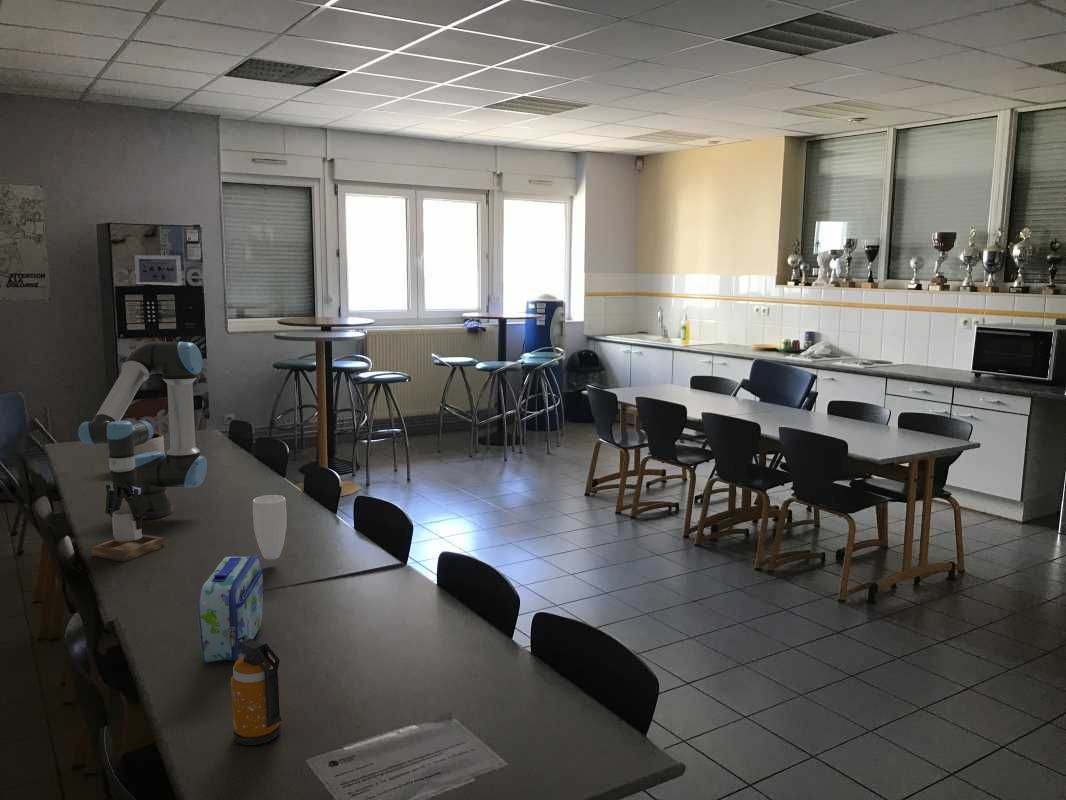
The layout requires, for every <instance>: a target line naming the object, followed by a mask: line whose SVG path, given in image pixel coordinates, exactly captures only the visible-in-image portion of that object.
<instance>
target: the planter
mask: <svg viewBox="0 0 1066 800" xmlns="http://www.w3.org/2000/svg"><path fill="white" fill-rule="evenodd" d="M164 442H165V441H164V434H163V433H160V432H154V433H153V436H152V438H151V439H150V440H149V441H147V442H145V443H144V444H140V445H137V446H135V447H134V454H135V456H136V455H139V454H143V453H147V452H153V451H163V452H164V454H165V443H164ZM164 456H166V454H165V455H164Z"/></svg>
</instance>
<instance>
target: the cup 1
mask: <svg viewBox="0 0 1066 800" xmlns="http://www.w3.org/2000/svg"><path fill="white" fill-rule="evenodd" d="M112 514H113V525H112V528H113V527H114V536H113V537H114V539H115V540H116V541H119V542H126V541H132V540H134V537H133V524H132V520H133V519H134V517H133V515H132V512H131V510H130V509H129V508H124V509H120V510H117V511H115V512H113V513H112Z"/></svg>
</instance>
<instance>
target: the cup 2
mask: <svg viewBox="0 0 1066 800" xmlns="http://www.w3.org/2000/svg"><path fill="white" fill-rule="evenodd" d="M287 514H288V513H287V504H286V497H285V496H283V495H280V494H278V495H277V494H269V495H261V496H260V495H259V496H258V497H255V498H254V499H252V521H253V522H252V524H253V531H254V535H255V539H256V542H257V545H258V546H257V547H259V550H260V553H261V555H262V556H263V558H264V559H266V560H276V559H279V558H280V556H281V555H282V551H283V547H284V544H285V541H286V533H287V516H288V515H287Z"/></svg>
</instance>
